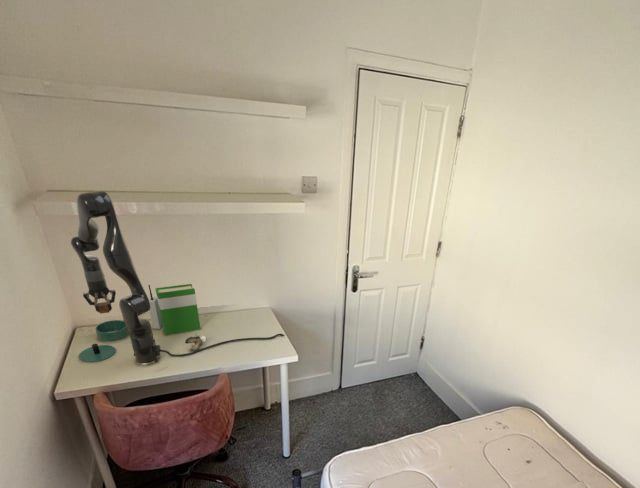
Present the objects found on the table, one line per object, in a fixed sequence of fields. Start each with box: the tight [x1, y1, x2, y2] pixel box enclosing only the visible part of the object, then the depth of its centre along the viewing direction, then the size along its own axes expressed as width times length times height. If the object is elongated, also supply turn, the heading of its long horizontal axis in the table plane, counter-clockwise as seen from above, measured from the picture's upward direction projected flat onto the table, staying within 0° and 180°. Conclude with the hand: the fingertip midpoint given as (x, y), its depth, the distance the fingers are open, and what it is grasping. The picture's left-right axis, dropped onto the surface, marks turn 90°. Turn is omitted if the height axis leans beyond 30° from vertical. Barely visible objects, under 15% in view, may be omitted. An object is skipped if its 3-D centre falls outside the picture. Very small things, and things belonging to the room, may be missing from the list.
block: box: [97, 301, 110, 315], centre depth 191 cm, size 4×4×4 cm
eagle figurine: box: [184, 333, 207, 352], centre depth 197 cm, size 8×7×9 cm
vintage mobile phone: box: [148, 284, 163, 330], centre depth 206 cm, size 4×5×25 cm
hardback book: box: [154, 283, 201, 336], centre depth 207 cm, size 18×7×24 cm, turn 122°
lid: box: [78, 343, 116, 363], centre depth 184 cm, size 15×15×6 cm
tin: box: [95, 319, 130, 343], centre depth 200 cm, size 14×14×6 cm
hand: (104, 310), depth 192 cm, fingers closed on block, 4 cm apart
